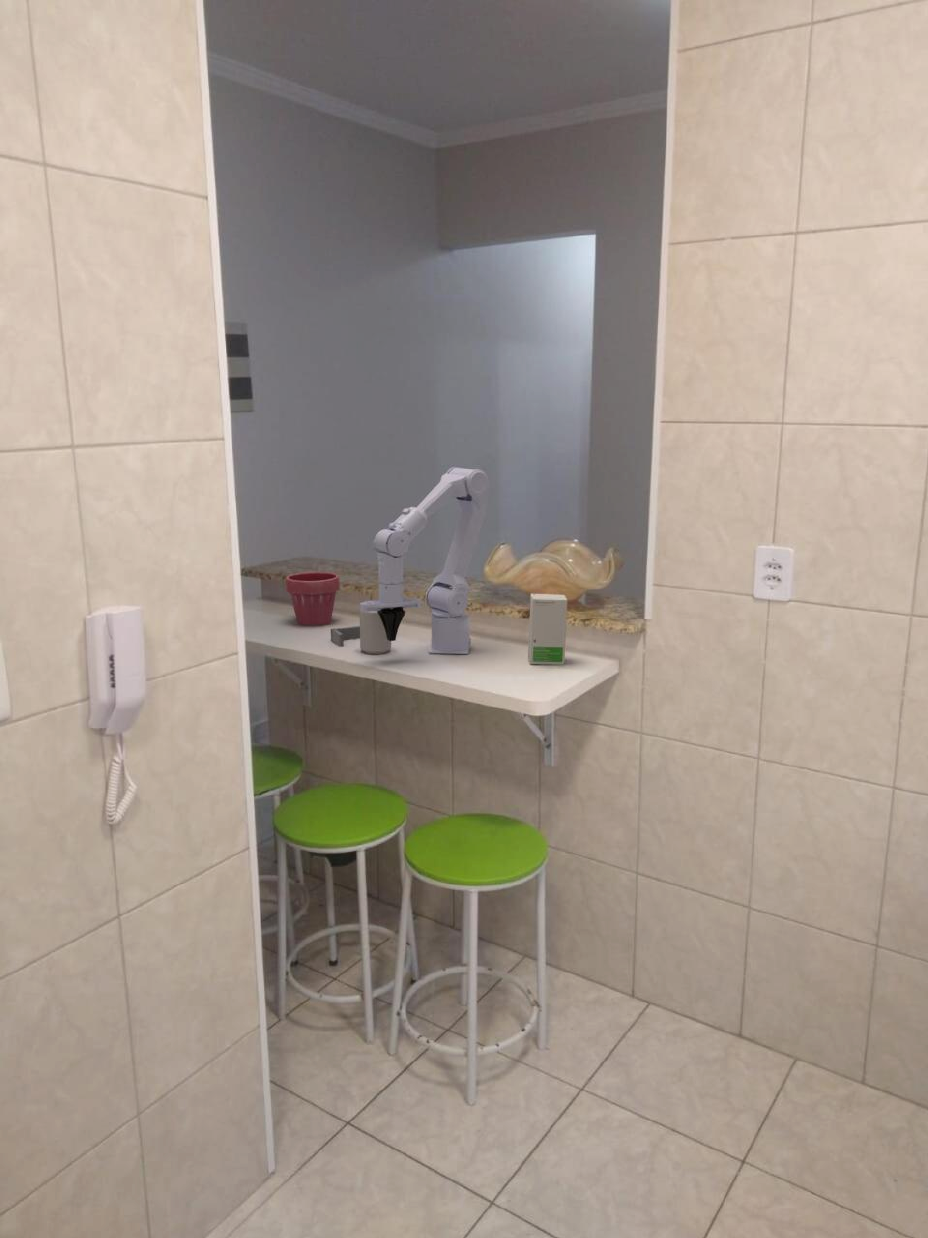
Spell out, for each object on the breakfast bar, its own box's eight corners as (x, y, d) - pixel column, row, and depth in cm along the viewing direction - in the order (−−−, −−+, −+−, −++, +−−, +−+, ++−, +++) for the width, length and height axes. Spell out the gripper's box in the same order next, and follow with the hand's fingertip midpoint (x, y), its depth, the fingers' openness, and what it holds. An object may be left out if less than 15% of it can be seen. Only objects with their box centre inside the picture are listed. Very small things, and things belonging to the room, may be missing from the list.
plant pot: (284, 618, 262) (282, 572, 259) (335, 614, 266) (333, 570, 263) (291, 630, 249) (289, 582, 246) (344, 626, 253) (343, 579, 250)
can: (386, 655, 225) (385, 606, 222) (356, 654, 227) (355, 605, 224) (394, 647, 232) (394, 600, 230) (365, 646, 234) (364, 598, 231)
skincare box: (529, 665, 218) (531, 599, 215) (527, 657, 225) (528, 593, 221) (566, 665, 218) (568, 599, 215) (562, 657, 225) (564, 593, 221)
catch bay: (388, 640, 239) (388, 629, 238) (339, 646, 233) (339, 634, 232) (379, 634, 244) (379, 623, 244) (331, 640, 239) (330, 628, 238)
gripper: (412, 576, 223) (412, 632, 226) (354, 581, 217) (355, 639, 220) (425, 582, 217) (425, 639, 220) (365, 587, 211) (366, 646, 214)
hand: (391, 639), depth 220 cm, fingers closed
